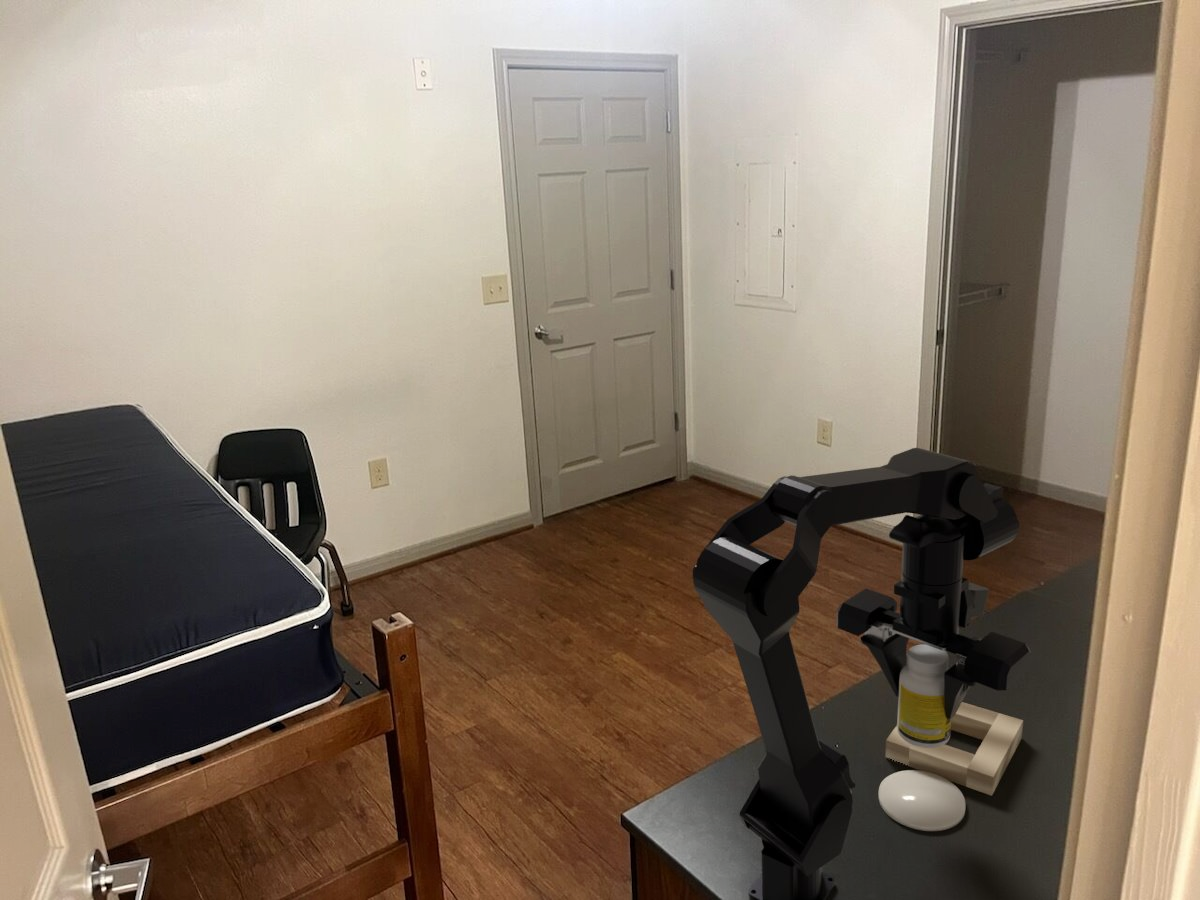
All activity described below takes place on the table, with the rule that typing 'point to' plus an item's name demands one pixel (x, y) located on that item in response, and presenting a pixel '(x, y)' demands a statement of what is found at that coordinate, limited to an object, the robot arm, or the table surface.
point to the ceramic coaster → (922, 800)
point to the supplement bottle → (923, 698)
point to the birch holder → (961, 765)
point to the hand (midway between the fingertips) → (924, 706)
